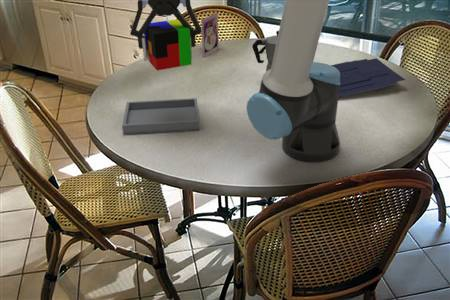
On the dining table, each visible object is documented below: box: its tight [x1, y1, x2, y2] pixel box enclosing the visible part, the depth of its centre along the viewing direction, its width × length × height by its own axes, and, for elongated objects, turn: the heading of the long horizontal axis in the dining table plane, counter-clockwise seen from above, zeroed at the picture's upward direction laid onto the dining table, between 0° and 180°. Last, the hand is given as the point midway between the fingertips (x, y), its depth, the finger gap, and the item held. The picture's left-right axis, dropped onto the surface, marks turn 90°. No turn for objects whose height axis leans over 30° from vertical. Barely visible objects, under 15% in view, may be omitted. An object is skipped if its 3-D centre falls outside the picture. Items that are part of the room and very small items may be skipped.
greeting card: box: [200, 12, 220, 58], centre depth 192 cm, size 11×7×15 cm, turn 149°
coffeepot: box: [252, 30, 279, 72], centre depth 164 cm, size 15×9×18 cm, turn 101°
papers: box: [330, 58, 406, 98], centre depth 166 cm, size 24×30×4 cm
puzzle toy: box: [143, 18, 193, 71], centre depth 134 cm, size 10×10×10 cm
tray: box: [121, 97, 200, 136], centre depth 145 cm, size 16×22×3 cm
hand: (168, 58), depth 136 cm, fingers closed on puzzle toy, 12 cm apart
